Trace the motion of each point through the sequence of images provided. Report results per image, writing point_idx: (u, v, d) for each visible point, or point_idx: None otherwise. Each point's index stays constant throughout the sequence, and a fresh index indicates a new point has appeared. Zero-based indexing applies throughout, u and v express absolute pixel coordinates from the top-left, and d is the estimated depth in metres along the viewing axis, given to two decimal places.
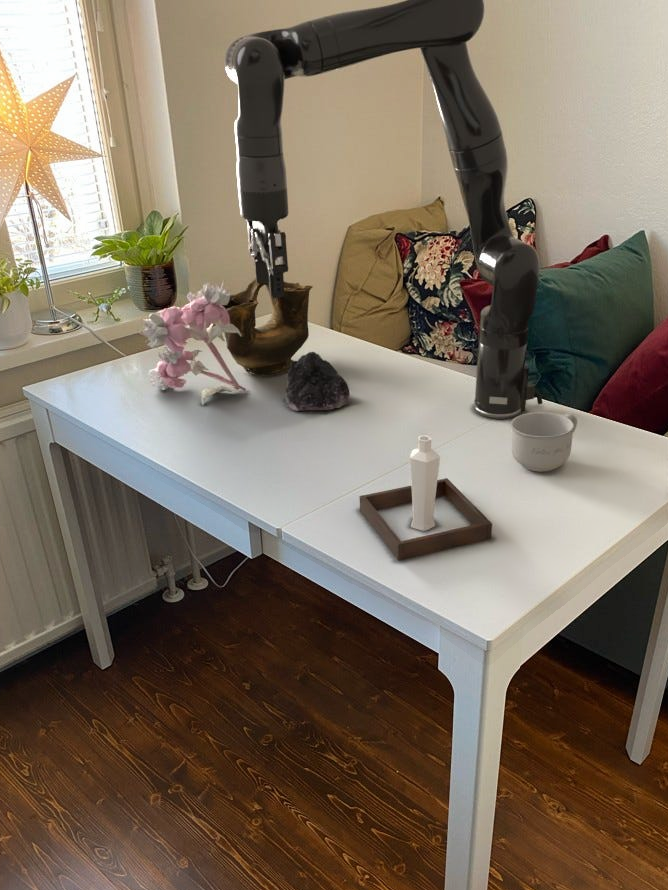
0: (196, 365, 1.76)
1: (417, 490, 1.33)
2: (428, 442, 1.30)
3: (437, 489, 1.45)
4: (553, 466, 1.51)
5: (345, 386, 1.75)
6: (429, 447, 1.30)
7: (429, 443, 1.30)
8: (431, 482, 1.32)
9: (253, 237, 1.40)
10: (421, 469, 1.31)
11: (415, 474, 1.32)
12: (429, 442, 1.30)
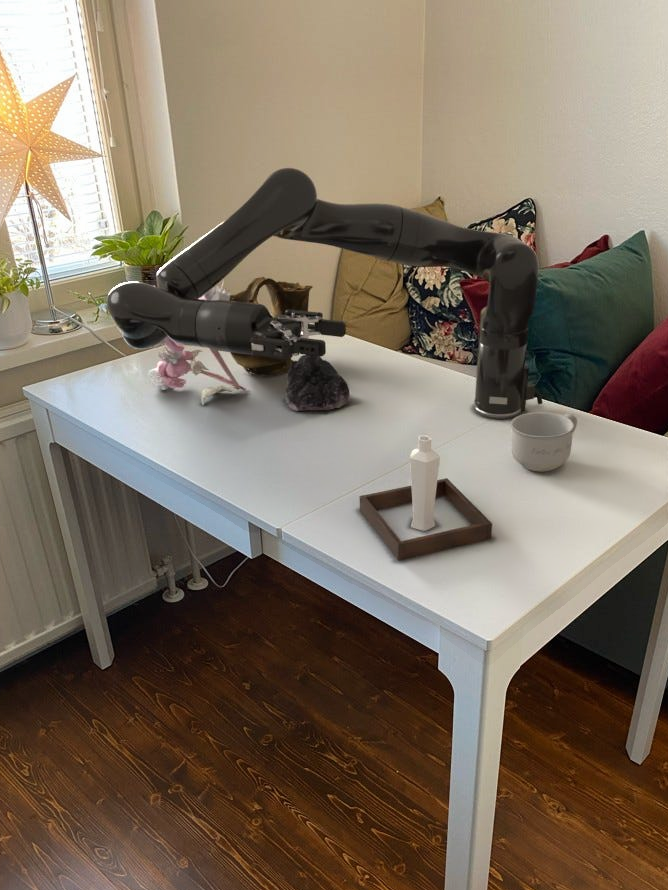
0: (196, 365, 1.76)
1: (417, 490, 1.33)
2: (428, 442, 1.30)
3: (437, 489, 1.45)
4: (553, 466, 1.51)
5: (345, 386, 1.75)
6: (429, 447, 1.30)
7: (429, 443, 1.30)
8: (431, 482, 1.32)
9: None
10: (421, 469, 1.31)
11: (415, 474, 1.32)
12: (429, 442, 1.30)
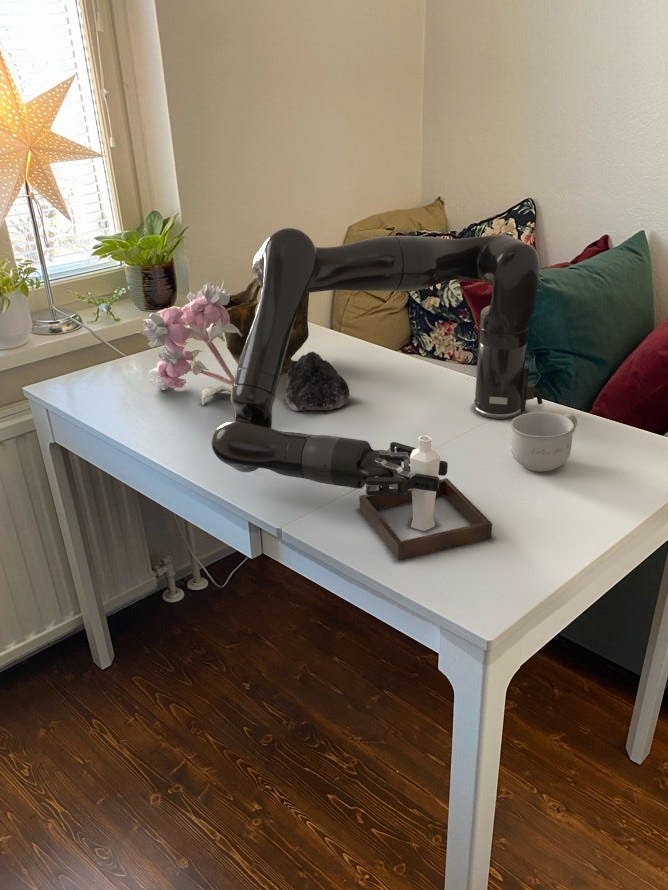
0: (196, 365, 1.76)
1: (417, 490, 1.33)
2: (428, 442, 1.30)
3: None
4: (553, 466, 1.51)
5: (345, 386, 1.75)
6: (429, 447, 1.30)
7: (429, 443, 1.30)
8: None
9: None
10: (421, 469, 1.31)
11: None
12: (429, 442, 1.30)
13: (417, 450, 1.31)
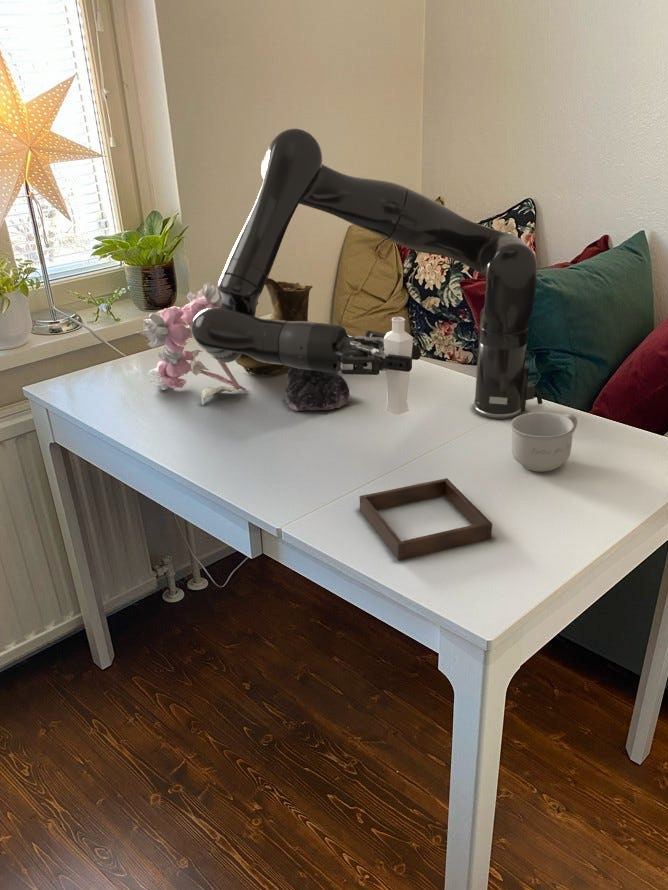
0: (196, 365, 1.76)
1: (390, 372, 1.37)
2: (401, 322, 1.33)
3: (437, 489, 1.45)
4: (553, 466, 1.51)
5: (345, 386, 1.75)
6: (402, 328, 1.34)
7: (402, 324, 1.34)
8: None
9: None
10: (394, 349, 1.34)
11: None
12: (402, 323, 1.34)
13: (391, 332, 1.35)
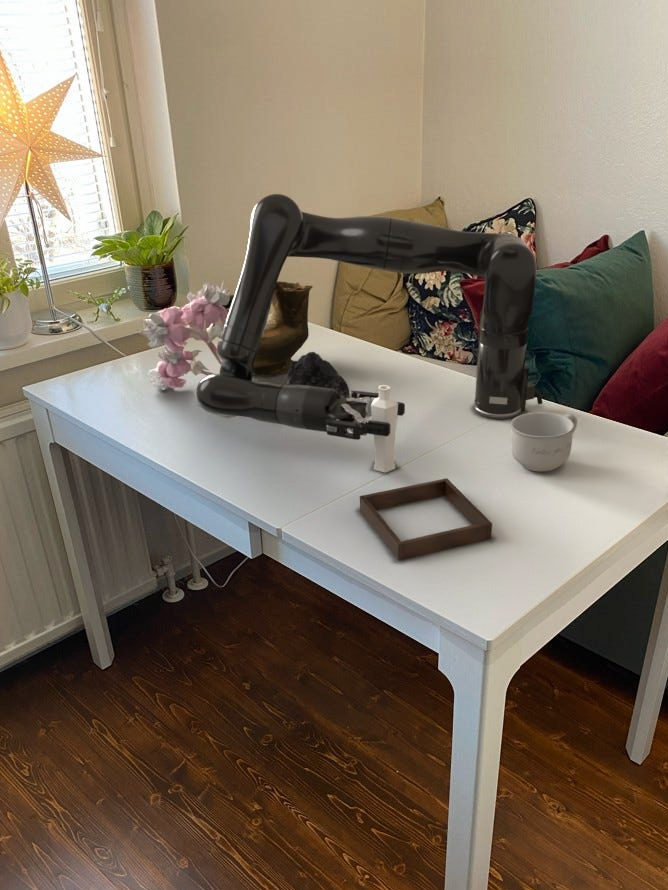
0: (196, 365, 1.76)
1: (378, 435, 1.49)
2: (387, 391, 1.46)
3: (437, 489, 1.45)
4: (553, 466, 1.51)
5: (345, 386, 1.75)
6: (388, 395, 1.46)
7: (388, 392, 1.46)
8: (390, 427, 1.49)
9: None
10: (381, 415, 1.47)
11: (376, 420, 1.48)
12: (388, 391, 1.46)
13: (377, 398, 1.47)
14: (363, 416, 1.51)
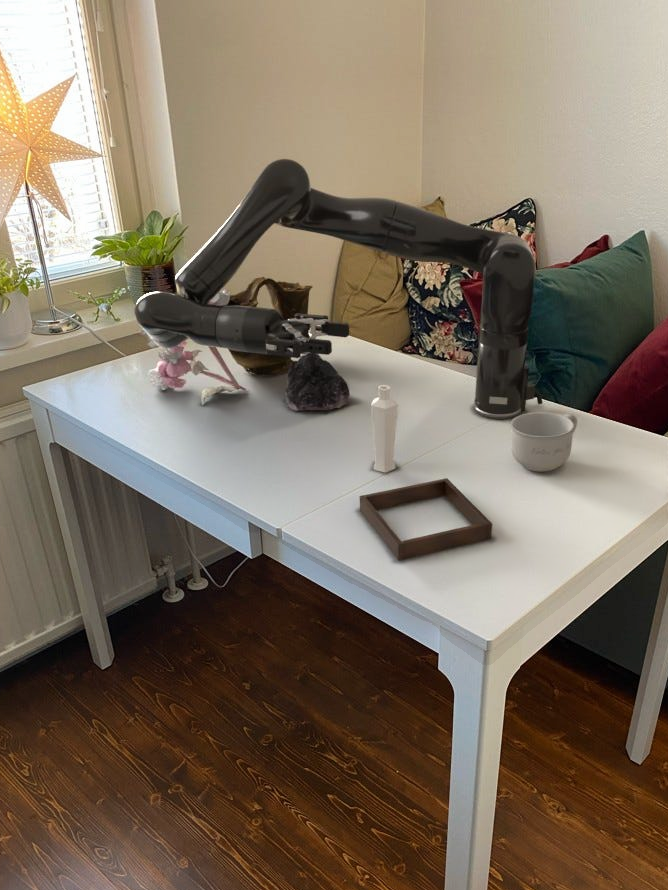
0: (196, 365, 1.76)
1: (378, 435, 1.49)
2: (387, 391, 1.46)
3: (437, 489, 1.45)
4: (553, 466, 1.51)
5: (345, 386, 1.75)
6: (388, 395, 1.46)
7: (388, 392, 1.46)
8: (390, 427, 1.49)
9: None
10: (381, 415, 1.47)
11: (376, 420, 1.48)
12: (388, 391, 1.46)
13: (377, 398, 1.47)
14: (306, 337, 1.46)
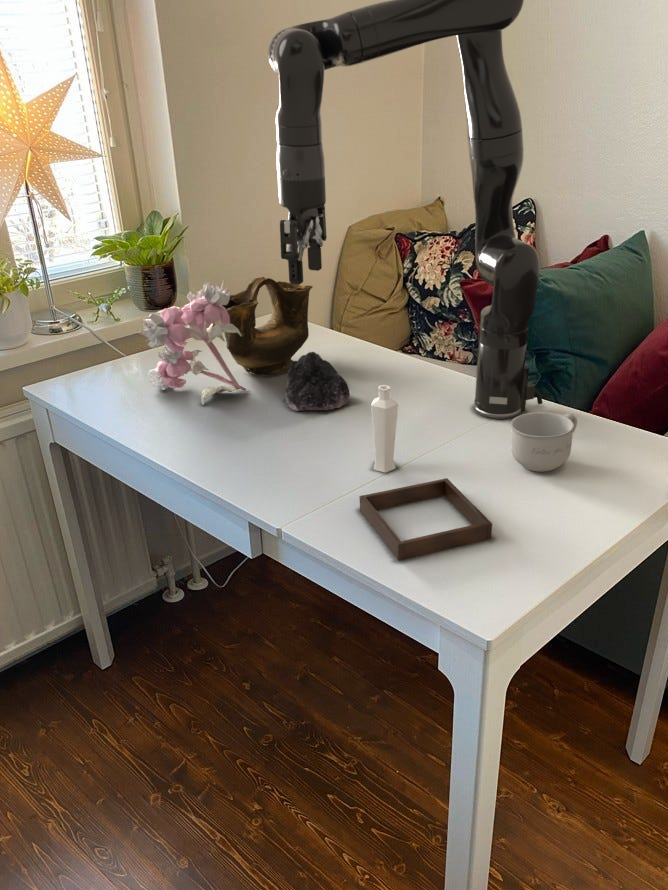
0: (196, 365, 1.76)
1: (378, 435, 1.49)
2: (387, 391, 1.46)
3: (437, 489, 1.45)
4: (553, 466, 1.51)
5: (345, 386, 1.75)
6: (388, 395, 1.46)
7: (388, 392, 1.46)
8: (390, 427, 1.49)
9: None
10: (381, 415, 1.47)
11: (376, 420, 1.48)
12: (388, 391, 1.46)
13: (377, 398, 1.47)
14: None
